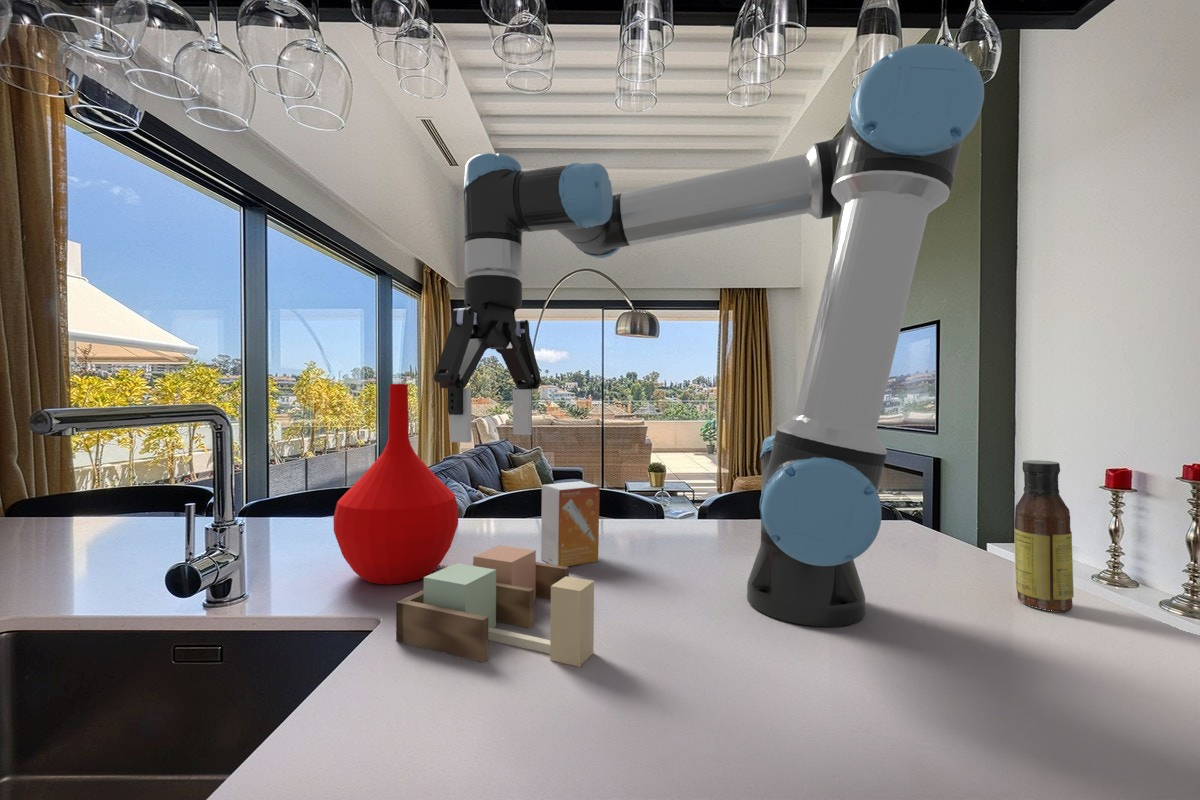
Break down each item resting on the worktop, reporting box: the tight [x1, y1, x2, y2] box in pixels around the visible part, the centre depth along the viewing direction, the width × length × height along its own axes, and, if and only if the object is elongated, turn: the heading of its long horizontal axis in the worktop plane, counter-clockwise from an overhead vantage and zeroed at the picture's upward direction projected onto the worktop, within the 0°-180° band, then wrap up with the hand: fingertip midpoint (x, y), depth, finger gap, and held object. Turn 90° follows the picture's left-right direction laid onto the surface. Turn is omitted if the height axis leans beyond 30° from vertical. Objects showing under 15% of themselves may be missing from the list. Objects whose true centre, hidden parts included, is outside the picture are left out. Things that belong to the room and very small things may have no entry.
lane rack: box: [395, 561, 570, 663], centre depth 71 cm, size 12×20×4 cm, turn 156°
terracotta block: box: [472, 544, 537, 602], centre depth 76 cm, size 6×6×7 cm
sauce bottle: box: [1014, 459, 1075, 613], centre depth 77 cm, size 7×6×20 cm
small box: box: [540, 480, 600, 567], centre depth 95 cm, size 8×6×13 cm
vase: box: [332, 383, 459, 585], centre depth 87 cm, size 18×18×30 cm
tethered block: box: [423, 562, 595, 668], centre depth 64 cm, size 20×6×8 cm, turn 66°
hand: (494, 438), depth 74 cm, fingers open, 13 cm apart
